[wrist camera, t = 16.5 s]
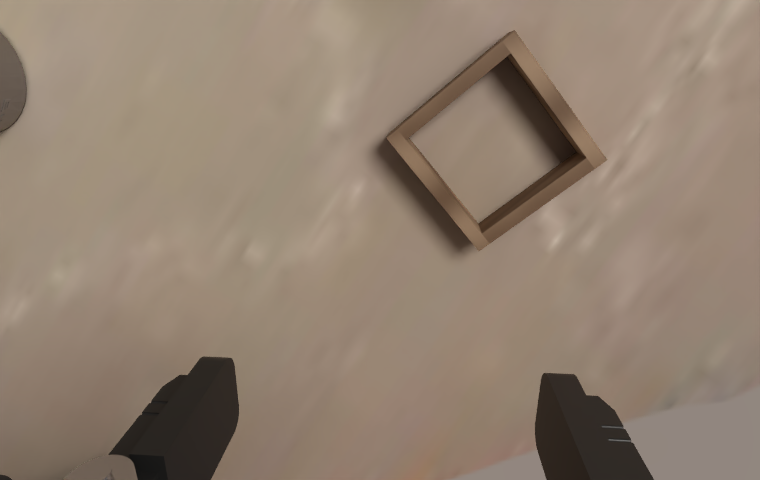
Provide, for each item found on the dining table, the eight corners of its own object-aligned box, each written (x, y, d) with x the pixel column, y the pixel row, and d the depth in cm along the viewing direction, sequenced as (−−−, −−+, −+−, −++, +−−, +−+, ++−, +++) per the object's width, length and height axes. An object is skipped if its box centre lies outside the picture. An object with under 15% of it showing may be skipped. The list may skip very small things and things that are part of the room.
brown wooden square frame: (388, 133, 38) (386, 138, 36) (508, 32, 35) (514, 30, 33) (475, 240, 40) (478, 251, 38) (595, 154, 37) (607, 159, 35)
